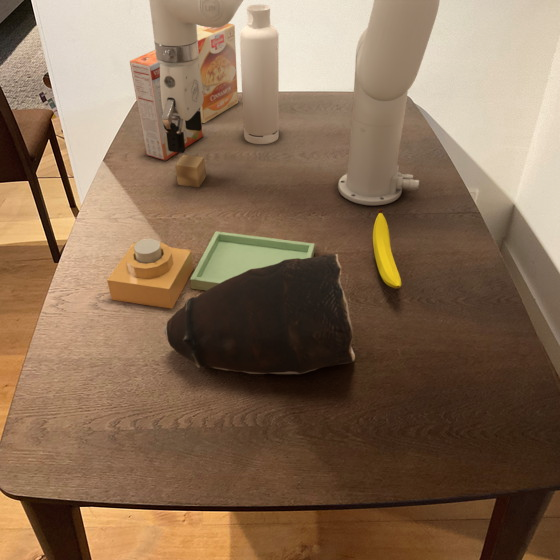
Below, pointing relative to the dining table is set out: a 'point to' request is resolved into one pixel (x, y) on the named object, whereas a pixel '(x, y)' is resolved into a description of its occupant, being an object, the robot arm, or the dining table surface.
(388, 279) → the banana
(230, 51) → the coffeecake box
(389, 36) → the robot arm
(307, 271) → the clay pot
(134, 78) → the cracker box
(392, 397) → the dining table surface
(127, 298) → the button base
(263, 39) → the bottle
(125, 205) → the dining table surface
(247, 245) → the tray
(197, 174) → the block
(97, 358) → the dining table surface
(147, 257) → the grey button cap
